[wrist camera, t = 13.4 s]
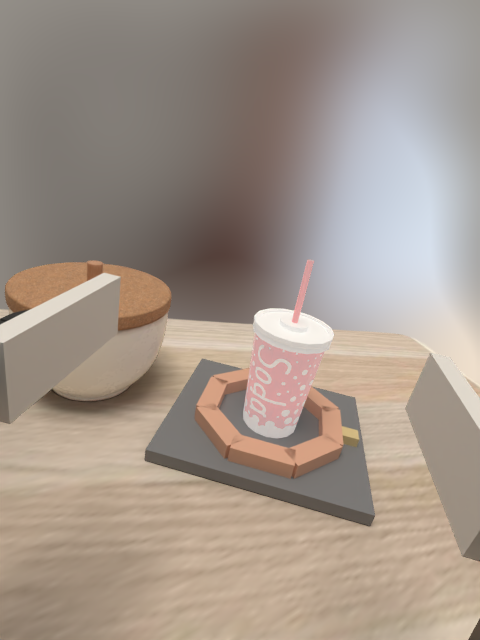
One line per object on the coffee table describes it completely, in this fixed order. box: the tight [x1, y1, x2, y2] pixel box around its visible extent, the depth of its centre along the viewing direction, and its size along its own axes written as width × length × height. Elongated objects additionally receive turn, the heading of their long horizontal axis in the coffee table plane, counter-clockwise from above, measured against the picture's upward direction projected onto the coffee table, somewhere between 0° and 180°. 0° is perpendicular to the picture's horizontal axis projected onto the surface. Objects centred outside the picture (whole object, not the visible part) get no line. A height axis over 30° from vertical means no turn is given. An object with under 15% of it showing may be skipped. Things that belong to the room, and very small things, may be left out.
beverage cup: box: [243, 259, 334, 438], centre depth 29 cm, size 6×6×14 cm
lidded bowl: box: [5, 261, 171, 401], centre depth 32 cm, size 13×13×11 cm
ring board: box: [145, 359, 375, 526], centre depth 32 cm, size 16×14×2 cm
